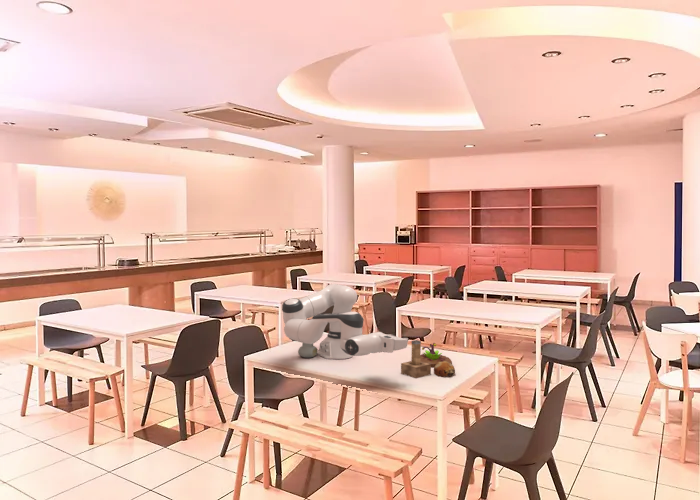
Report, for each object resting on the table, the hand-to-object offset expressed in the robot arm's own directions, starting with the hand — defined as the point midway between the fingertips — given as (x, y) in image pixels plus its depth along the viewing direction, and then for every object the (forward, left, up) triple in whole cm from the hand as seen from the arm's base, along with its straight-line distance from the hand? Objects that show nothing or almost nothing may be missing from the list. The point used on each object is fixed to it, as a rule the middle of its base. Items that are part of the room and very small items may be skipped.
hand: (399, 337), depth 239 cm
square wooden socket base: (-1, +12, -19) cm, 23 cm away
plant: (-10, +34, -20) cm, 41 cm away
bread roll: (+8, +22, -20) cm, 31 cm away
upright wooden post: (-1, +12, -19) cm, 22 cm away
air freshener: (-61, -9, -19) cm, 64 cm away
